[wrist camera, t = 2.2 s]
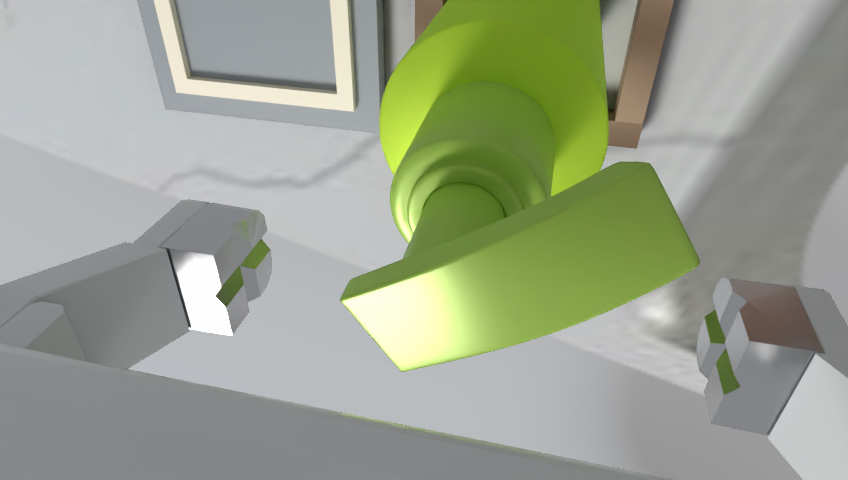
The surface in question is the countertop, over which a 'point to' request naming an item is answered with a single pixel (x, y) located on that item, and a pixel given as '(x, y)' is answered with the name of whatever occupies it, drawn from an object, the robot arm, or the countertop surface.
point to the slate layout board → (271, 59)
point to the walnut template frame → (636, 70)
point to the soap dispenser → (509, 188)
